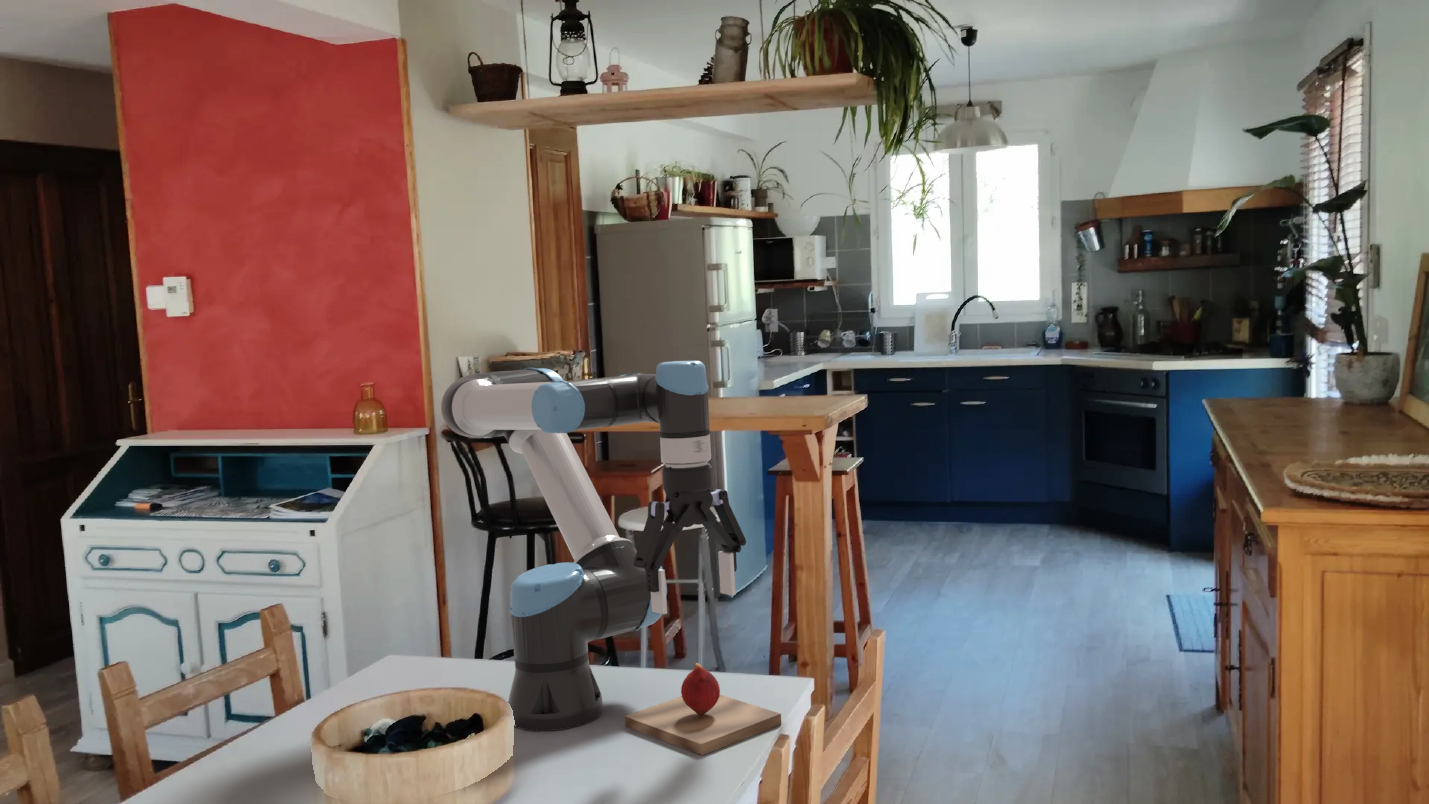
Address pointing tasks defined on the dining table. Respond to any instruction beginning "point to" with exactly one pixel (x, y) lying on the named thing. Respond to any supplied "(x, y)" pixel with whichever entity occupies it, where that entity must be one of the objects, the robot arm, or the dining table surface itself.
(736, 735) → the chopping board
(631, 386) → the robot arm
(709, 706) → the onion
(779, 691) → the dining table surface
